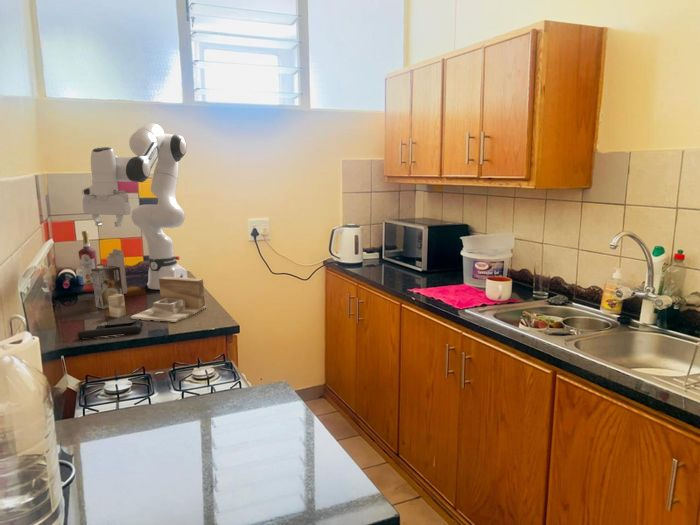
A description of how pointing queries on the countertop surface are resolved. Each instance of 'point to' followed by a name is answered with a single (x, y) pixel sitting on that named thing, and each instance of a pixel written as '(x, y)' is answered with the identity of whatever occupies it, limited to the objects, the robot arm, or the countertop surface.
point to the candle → (118, 265)
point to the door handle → (112, 330)
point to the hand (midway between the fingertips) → (108, 226)
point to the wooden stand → (176, 300)
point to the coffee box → (106, 284)
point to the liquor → (87, 262)
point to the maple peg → (116, 305)
